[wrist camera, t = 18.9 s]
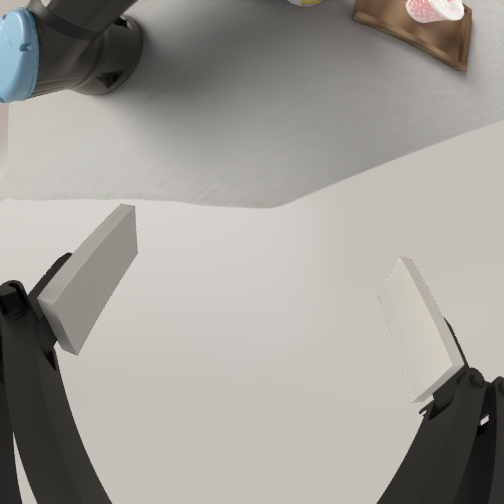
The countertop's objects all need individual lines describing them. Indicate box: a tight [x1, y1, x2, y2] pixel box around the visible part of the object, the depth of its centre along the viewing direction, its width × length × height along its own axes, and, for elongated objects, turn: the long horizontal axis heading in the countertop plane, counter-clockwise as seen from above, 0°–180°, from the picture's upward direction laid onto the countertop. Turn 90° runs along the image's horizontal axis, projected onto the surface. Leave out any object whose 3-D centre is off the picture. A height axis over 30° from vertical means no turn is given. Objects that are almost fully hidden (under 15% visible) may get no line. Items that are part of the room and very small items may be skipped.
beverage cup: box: [406, 0, 464, 23], centre depth 17 cm, size 6×6×14 cm
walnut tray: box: [352, 0, 472, 71], centre depth 22 cm, size 20×14×2 cm
